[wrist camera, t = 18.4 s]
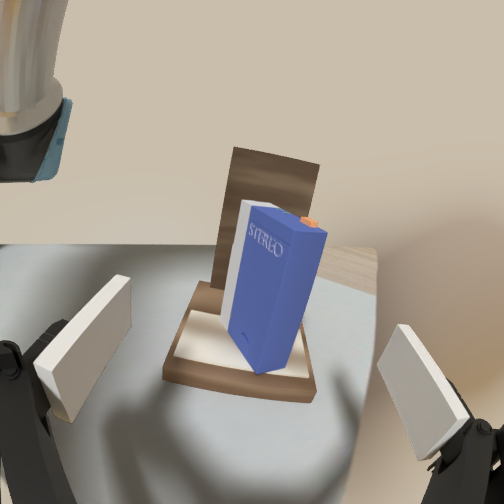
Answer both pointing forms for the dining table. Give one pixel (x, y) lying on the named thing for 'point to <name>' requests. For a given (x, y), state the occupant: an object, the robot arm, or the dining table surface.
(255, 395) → the book end
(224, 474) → the dining table surface
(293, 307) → the walkman
